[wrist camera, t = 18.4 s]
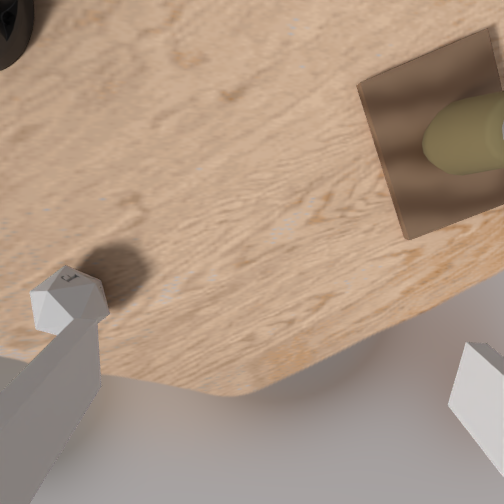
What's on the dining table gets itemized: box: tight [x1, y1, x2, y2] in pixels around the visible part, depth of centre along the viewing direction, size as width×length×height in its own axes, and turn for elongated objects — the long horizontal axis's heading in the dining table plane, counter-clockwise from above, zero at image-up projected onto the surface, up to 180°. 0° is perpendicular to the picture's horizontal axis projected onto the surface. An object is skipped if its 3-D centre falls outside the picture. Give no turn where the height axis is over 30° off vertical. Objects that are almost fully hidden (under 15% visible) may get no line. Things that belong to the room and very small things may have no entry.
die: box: [30, 265, 110, 335], centre depth 43 cm, size 8×9×10 cm
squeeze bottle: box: [422, 91, 504, 176], centre depth 32 cm, size 8×8×18 cm
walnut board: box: [357, 28, 504, 240], centre depth 42 cm, size 20×15×2 cm
